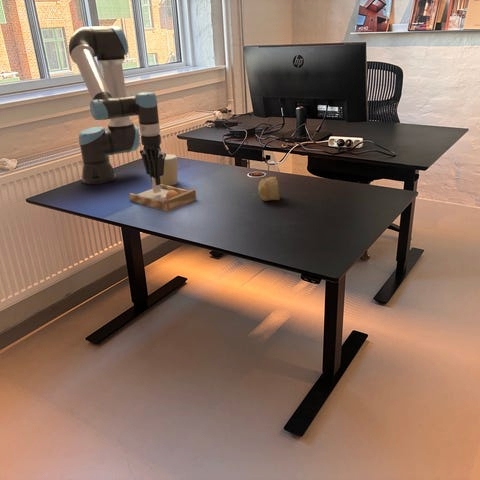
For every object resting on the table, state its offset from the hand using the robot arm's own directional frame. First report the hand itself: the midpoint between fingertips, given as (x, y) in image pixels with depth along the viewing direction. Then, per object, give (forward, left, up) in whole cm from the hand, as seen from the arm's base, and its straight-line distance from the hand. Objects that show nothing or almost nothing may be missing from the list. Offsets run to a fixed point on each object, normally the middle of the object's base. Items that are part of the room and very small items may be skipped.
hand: (157, 191), depth 192 cm
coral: (+39, +24, -3) cm, 46 cm away
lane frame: (+3, 0, -3) cm, 4 cm away
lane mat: (+3, 0, -3) cm, 4 cm away
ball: (+9, 0, 0) cm, 9 cm away
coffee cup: (-11, +17, -3) cm, 20 cm away
